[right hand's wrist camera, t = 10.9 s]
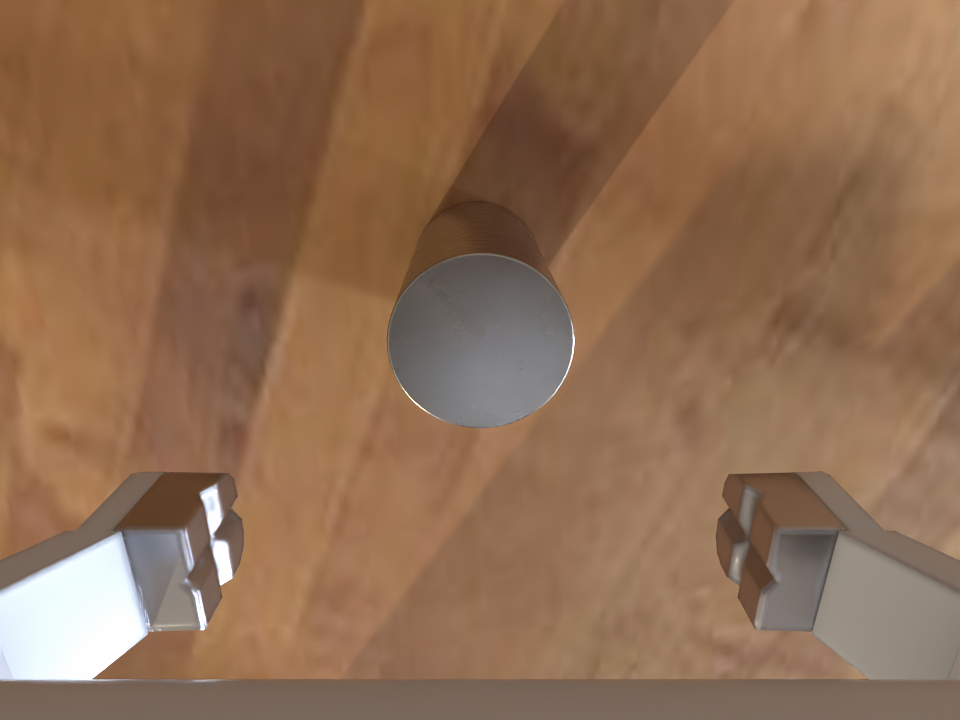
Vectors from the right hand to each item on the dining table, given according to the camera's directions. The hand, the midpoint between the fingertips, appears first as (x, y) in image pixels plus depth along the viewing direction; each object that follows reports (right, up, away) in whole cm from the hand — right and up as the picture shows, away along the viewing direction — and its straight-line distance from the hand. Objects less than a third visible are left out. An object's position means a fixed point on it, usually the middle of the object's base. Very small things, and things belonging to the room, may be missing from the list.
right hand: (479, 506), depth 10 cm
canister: (0, +6, +15) cm, 17 cm away
